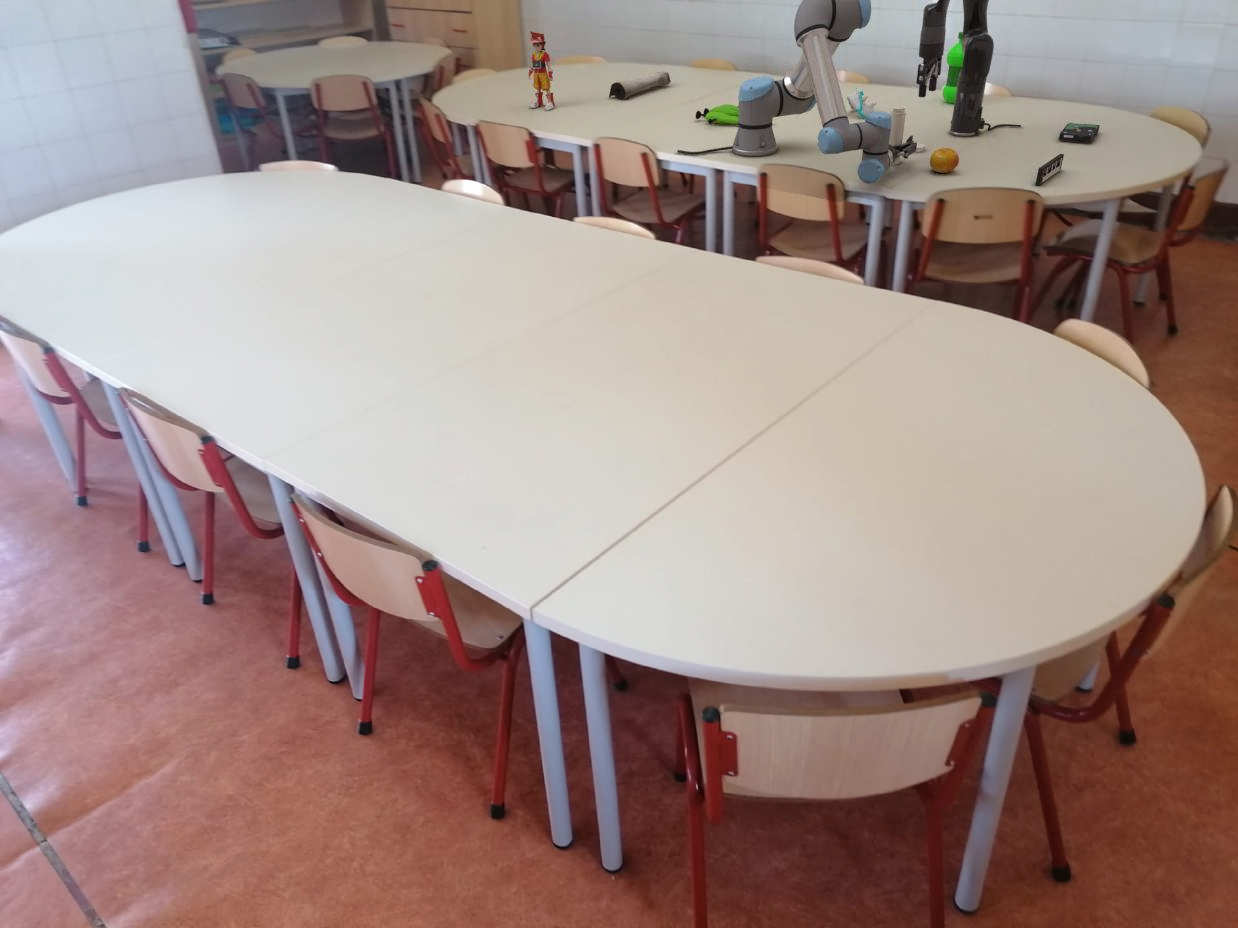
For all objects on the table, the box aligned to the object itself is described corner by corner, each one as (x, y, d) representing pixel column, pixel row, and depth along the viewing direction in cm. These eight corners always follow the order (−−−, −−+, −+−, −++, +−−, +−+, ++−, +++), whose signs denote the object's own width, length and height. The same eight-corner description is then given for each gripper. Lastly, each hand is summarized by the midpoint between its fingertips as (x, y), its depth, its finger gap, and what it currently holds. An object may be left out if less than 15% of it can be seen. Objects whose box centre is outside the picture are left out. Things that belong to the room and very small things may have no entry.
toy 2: (685, 123, 344) (756, 136, 332) (687, 109, 342) (758, 121, 329) (718, 112, 365) (786, 123, 352) (719, 98, 362) (788, 110, 350)
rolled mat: (651, 76, 408) (662, 61, 399) (662, 93, 408) (674, 79, 400) (605, 92, 391) (616, 77, 383) (617, 110, 391) (628, 95, 383)
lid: (904, 150, 306) (905, 146, 305) (912, 147, 309) (913, 142, 308) (918, 153, 302) (919, 148, 301) (926, 149, 305) (927, 145, 304)
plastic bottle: (973, 101, 354) (984, 32, 339) (955, 106, 349) (966, 36, 335) (952, 97, 361) (962, 29, 346) (934, 102, 356) (944, 33, 342)
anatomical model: (842, 87, 348) (867, 80, 347) (844, 114, 354) (869, 107, 353) (853, 96, 336) (879, 89, 335) (855, 124, 342) (881, 117, 341)
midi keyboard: (1039, 185, 269) (1043, 168, 266) (1035, 184, 270) (1038, 168, 267) (1060, 170, 279) (1064, 154, 277) (1056, 169, 280) (1060, 153, 277)
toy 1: (525, 109, 381) (517, 32, 364) (534, 104, 388) (527, 28, 371) (550, 110, 377) (543, 32, 360) (559, 105, 384) (553, 28, 367)
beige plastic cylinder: (891, 160, 298) (897, 105, 288) (902, 162, 295) (909, 107, 285) (882, 162, 296) (889, 107, 286) (893, 165, 293) (900, 110, 283)
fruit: (924, 163, 281) (941, 140, 278) (925, 165, 289) (941, 143, 286) (946, 178, 280) (963, 155, 277) (947, 180, 288) (963, 158, 285)
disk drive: (1091, 144, 300) (1098, 132, 310) (1093, 136, 299) (1100, 124, 309) (1057, 141, 305) (1066, 130, 315) (1059, 133, 303) (1067, 121, 313)
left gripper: (847, 167, 285) (866, 148, 301) (913, 173, 277) (928, 153, 293) (849, 143, 281) (868, 125, 297) (916, 148, 273) (932, 129, 289)
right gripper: (929, 36, 291) (924, 88, 301) (912, 44, 282) (907, 98, 292) (952, 36, 287) (946, 89, 296) (935, 45, 278) (929, 100, 288)
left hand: (898, 139), depth 295 cm, fingers open, 8 cm apart
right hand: (927, 94), depth 294 cm, fingers open, 8 cm apart
